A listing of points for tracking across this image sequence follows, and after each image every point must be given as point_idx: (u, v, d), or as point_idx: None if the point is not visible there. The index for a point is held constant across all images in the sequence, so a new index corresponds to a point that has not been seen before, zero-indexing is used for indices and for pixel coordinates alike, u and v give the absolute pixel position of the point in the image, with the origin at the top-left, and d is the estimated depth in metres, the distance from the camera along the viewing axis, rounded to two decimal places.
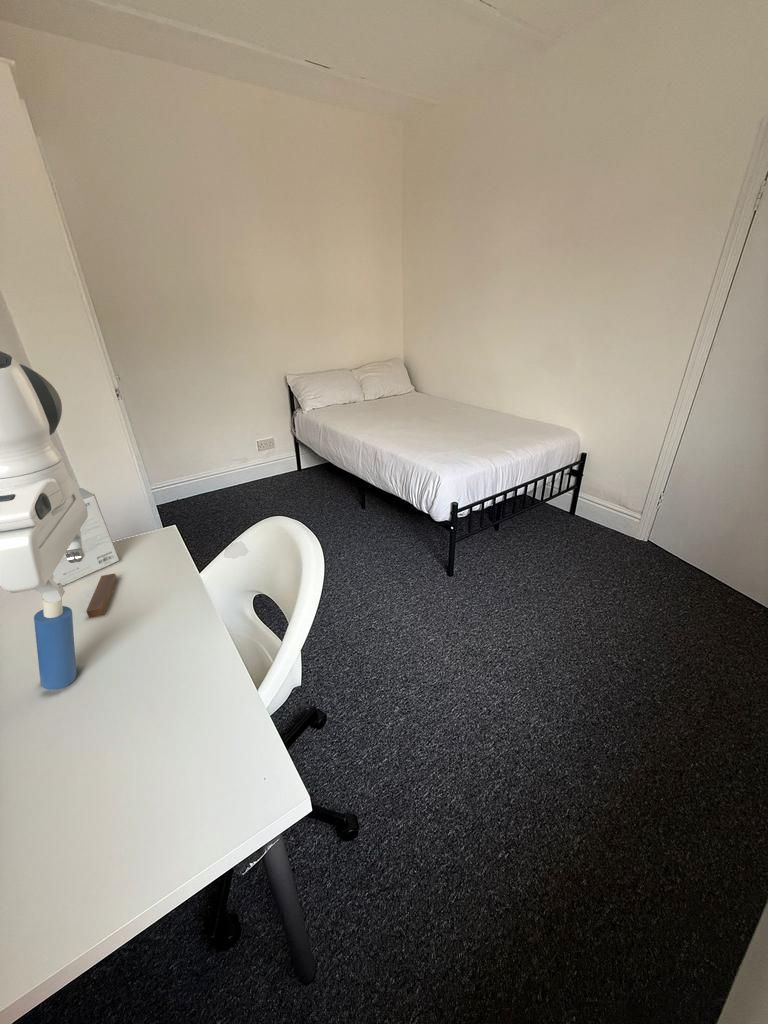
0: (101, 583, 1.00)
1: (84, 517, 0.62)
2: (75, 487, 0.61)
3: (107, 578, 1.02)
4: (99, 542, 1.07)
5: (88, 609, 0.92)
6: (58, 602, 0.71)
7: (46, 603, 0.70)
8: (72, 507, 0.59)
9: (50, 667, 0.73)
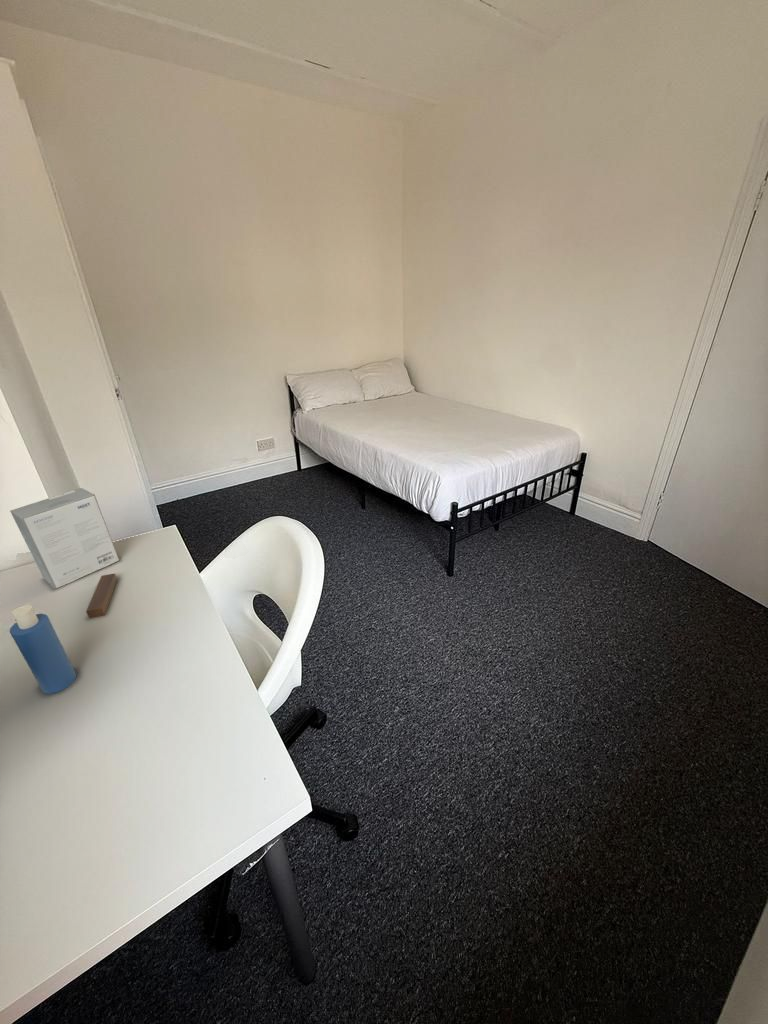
0: (101, 583, 1.00)
1: None
2: None
3: (107, 578, 1.02)
4: (99, 542, 1.07)
5: (88, 609, 0.92)
6: (28, 612, 0.69)
7: (16, 616, 0.68)
8: None
9: (43, 674, 0.72)
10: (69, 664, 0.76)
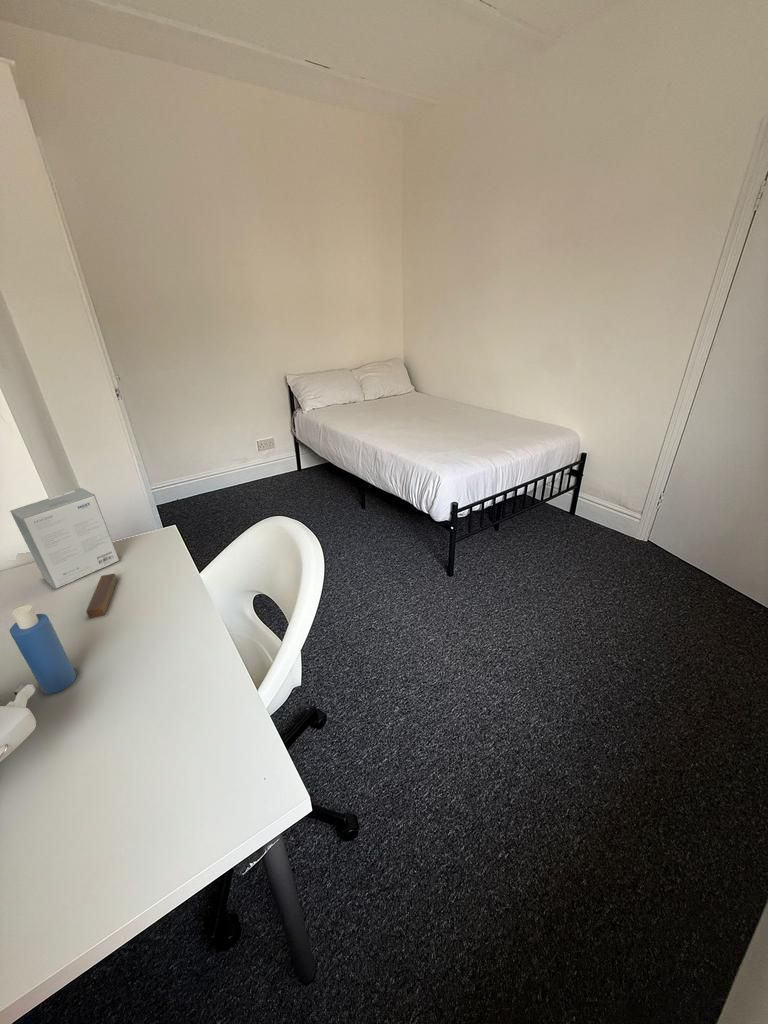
0: (101, 583, 1.00)
1: None
2: None
3: (107, 578, 1.02)
4: (99, 542, 1.07)
5: (88, 609, 0.92)
6: (28, 612, 0.69)
7: (16, 616, 0.68)
8: None
9: (43, 674, 0.72)
10: (69, 664, 0.76)
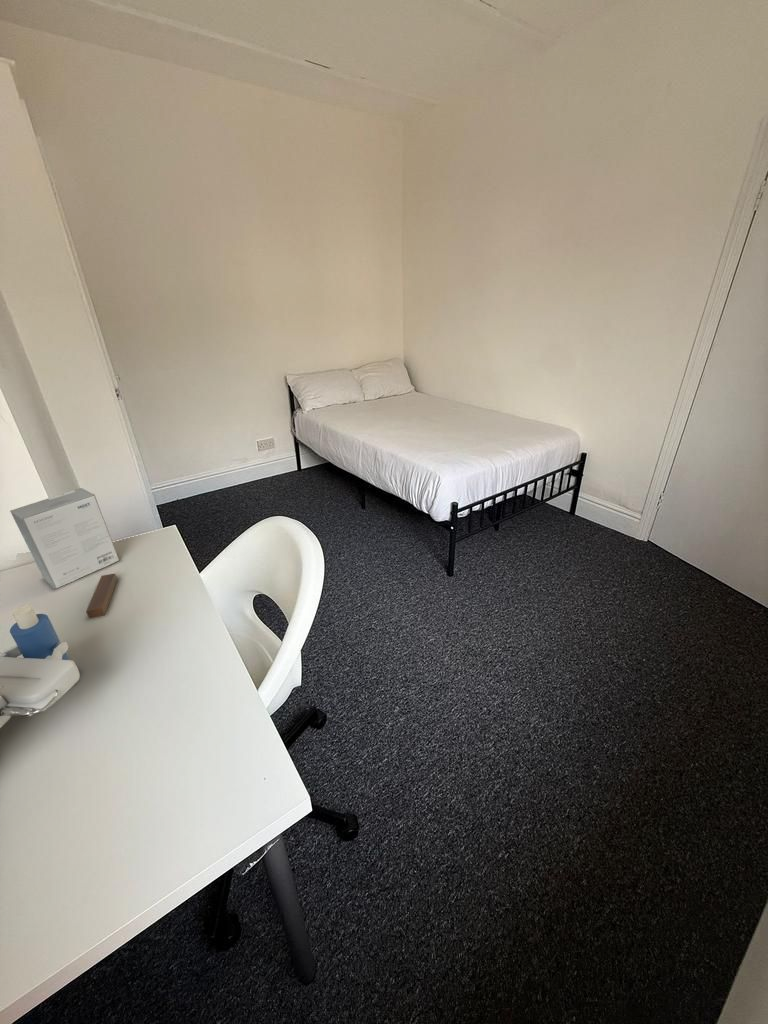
0: (101, 583, 1.00)
1: None
2: None
3: (107, 578, 1.02)
4: (99, 542, 1.07)
5: (88, 609, 0.92)
6: (28, 612, 0.69)
7: (16, 616, 0.68)
8: None
9: None
10: None
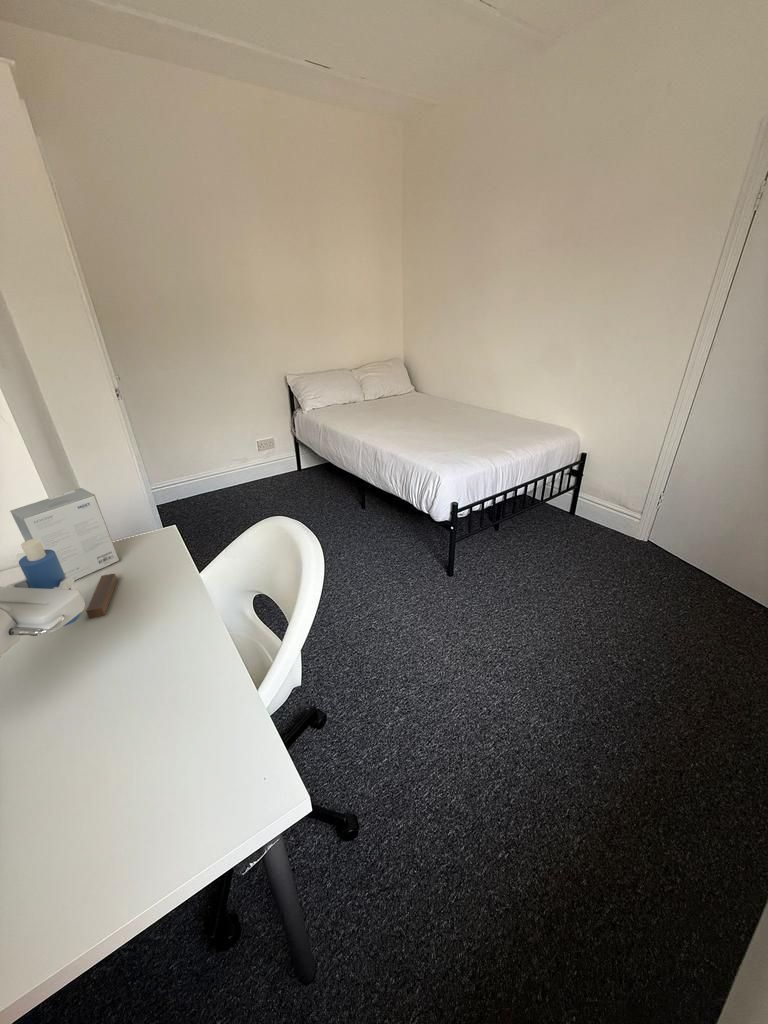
0: (101, 583, 1.00)
1: None
2: None
3: (107, 578, 1.02)
4: (99, 542, 1.07)
5: (88, 609, 0.92)
6: (37, 545, 0.72)
7: (25, 547, 0.71)
8: None
9: None
10: None
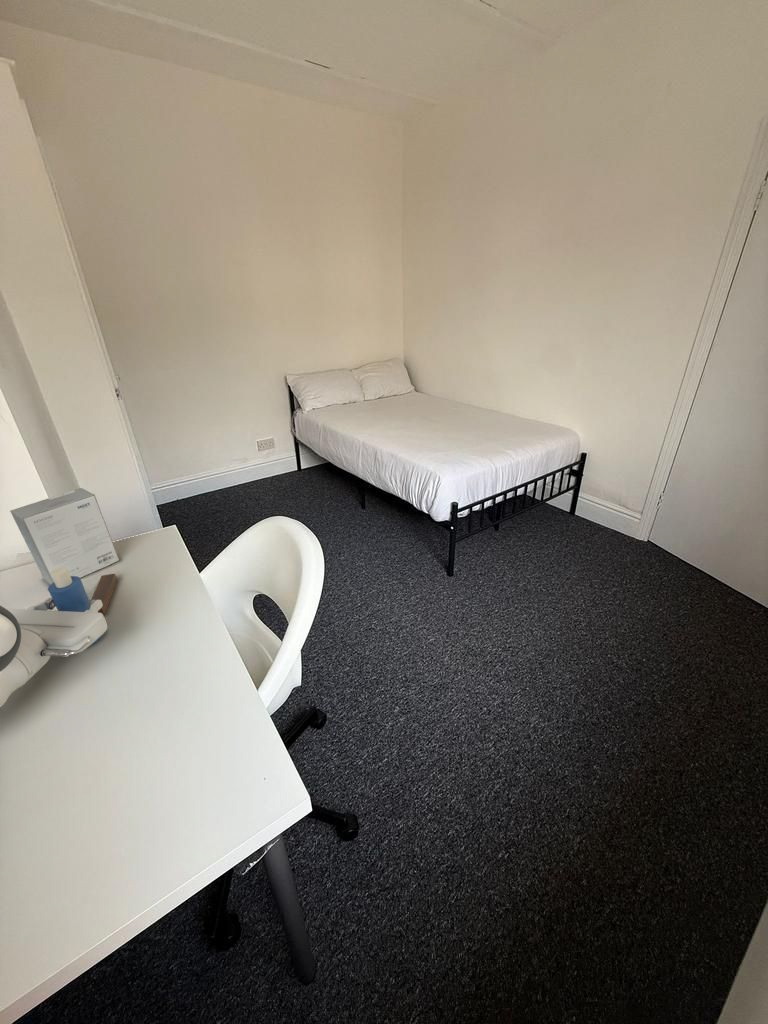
0: (101, 583, 1.00)
1: None
2: None
3: (107, 578, 1.02)
4: (99, 542, 1.07)
5: None
6: (64, 573, 0.79)
7: (54, 575, 0.78)
8: None
9: None
10: None
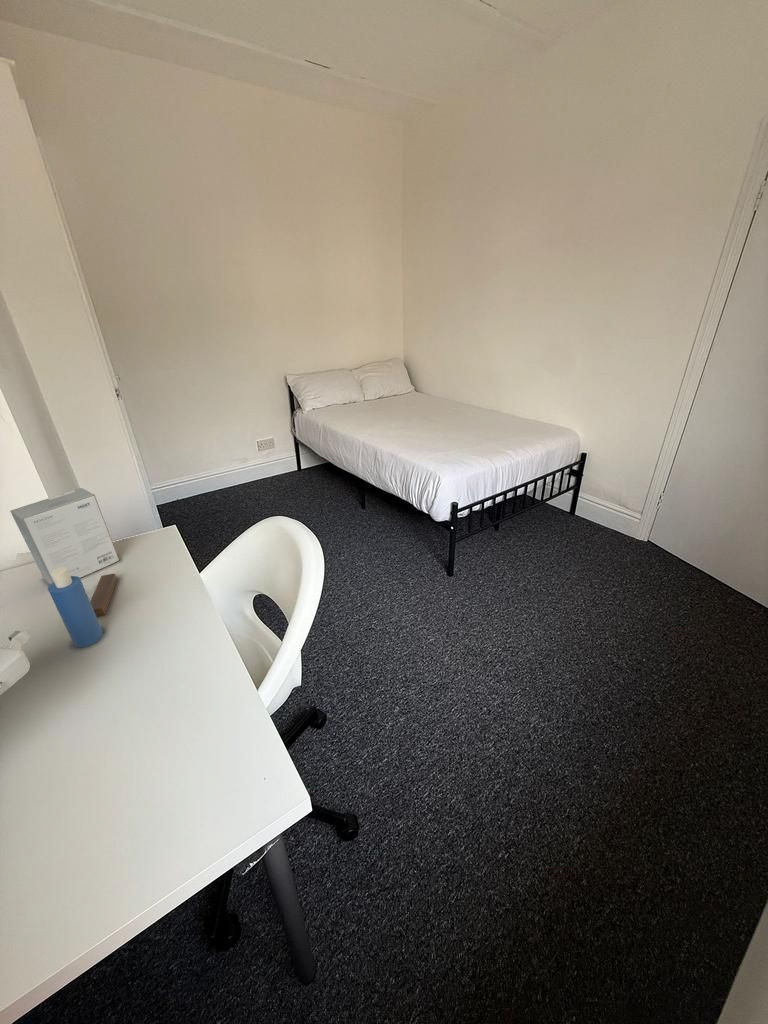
0: (101, 583, 1.00)
1: None
2: None
3: (107, 578, 1.02)
4: (99, 542, 1.07)
5: None
6: (64, 573, 0.79)
7: (54, 575, 0.78)
8: None
9: (75, 629, 0.82)
10: (97, 622, 0.86)
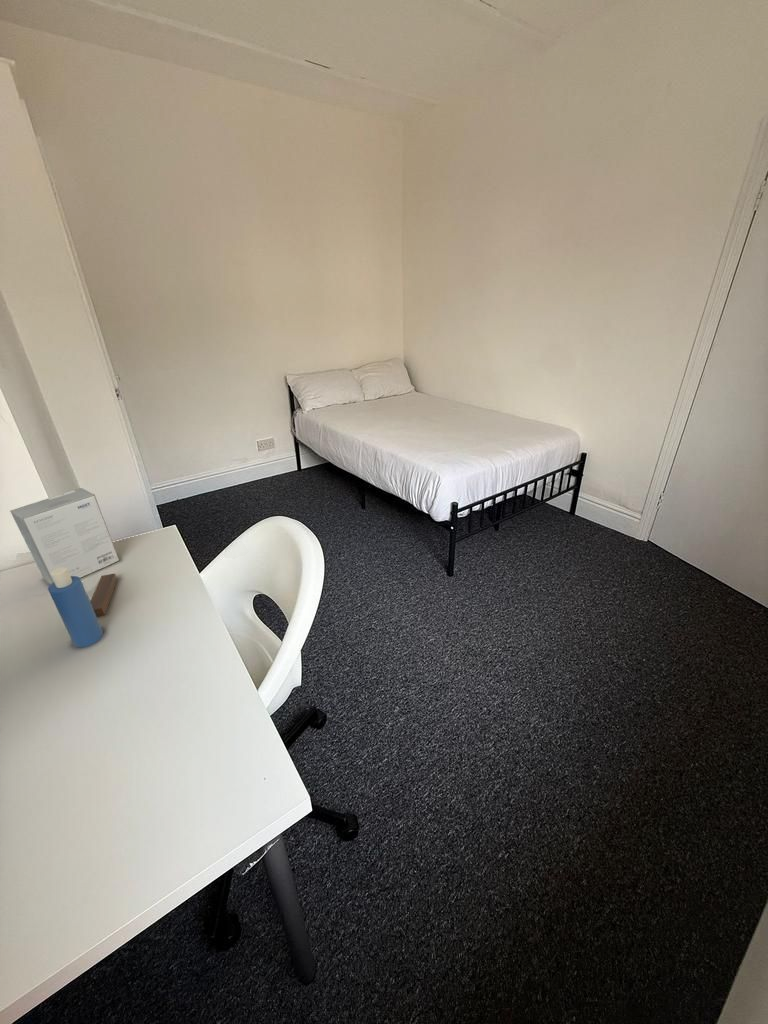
0: (101, 583, 1.00)
1: None
2: None
3: (107, 578, 1.02)
4: (99, 542, 1.07)
5: None
6: (64, 573, 0.79)
7: (54, 575, 0.78)
8: None
9: (75, 629, 0.82)
10: (97, 622, 0.86)
